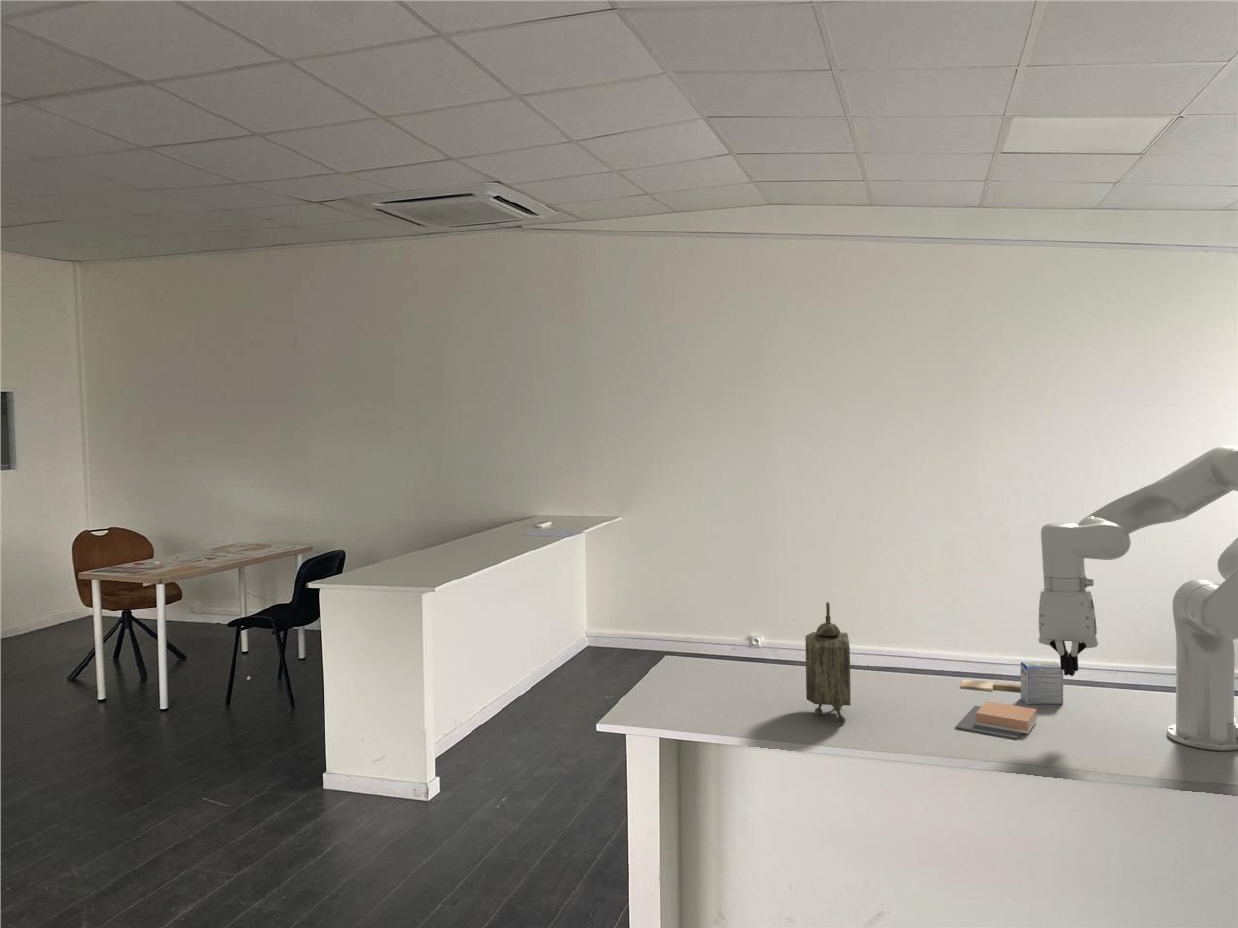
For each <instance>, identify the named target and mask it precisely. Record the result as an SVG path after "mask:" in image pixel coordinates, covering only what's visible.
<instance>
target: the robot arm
mask: <svg viewBox="0 0 1238 928" xmlns="http://www.w3.org/2000/svg"><path fill="white" fill-rule="evenodd" d="M1233 491H1234V492H1238V445H1220V446H1217V447H1214V448H1212V449H1210V450H1208V451H1206V452H1205V453H1203V454H1201V455H1199V456H1198V457H1195V458H1194V459H1192V460H1191V461H1189V462H1188V463H1186V464H1184V465H1182V466H1181V467H1180V468H1177V469H1175V470H1174V471H1173V472H1171V473H1169V474H1167V475H1166V476H1164V477H1162V478H1160V479H1159V480H1156V481H1155V482H1153V483H1150V484H1148V485H1146V486H1144V487H1141V488H1139V489H1137V490H1135V491H1133V492H1130V493H1128V494H1125V495H1124V496H1121V497H1119V498H1117V499H1115V500H1113V501H1111V502H1109V503H1107V504H1105V505H1104V506H1102V507H1100V508H1099V509H1096V510H1095V511H1093V512H1092V513H1090V514H1088V515H1087V516H1085V517H1084V518H1082V519H1081V520H1080V521H1079V522H1078V523H1074V522H1051V523H1047V524H1044V525H1043V526H1042V527H1041V529H1040V541H1041V554H1042V556H1041V558H1042V571H1043V572H1042V575H1043V587H1044V588H1042V589H1041V590H1040V595H1039V604H1038V634H1039V637H1038V643H1039V644H1042V645H1046V646H1049V647H1051V648H1052V649H1053V650H1054V651H1055V652H1056V653H1057V654H1058V656H1059V660H1060V661H1059V662H1060V663H1059V665H1061V670H1063V676H1068V675H1069V676H1070V677H1074V675H1076V672H1078V671H1079V654H1080V653H1082V651H1084V650H1085V649H1092V648H1097V647H1098V646H1099V642H1098V638H1097V634H1098V632H1097V630H1098V627H1097V620H1096V619H1097V618H1096V610H1095V604H1094V601H1093V596H1092V592H1091V590H1090V589H1087V588H1089V587H1093V586H1094V584H1095V583H1094V579H1093V578H1092V579H1090V578H1088V577H1087V576H1086V574H1085V573H1086V572H1085V571H1086V569H1085V568H1086V567H1085V559H1090V560H1102V561H1112V560H1117V559H1120V558H1121V557H1123V556H1124V555H1126V554H1127V553H1128V552H1129V550H1130V548H1131V543H1132V542H1131V541H1132V540H1131V537H1130V534H1132V533H1135V532H1136V531H1138V530H1139V531H1140V530H1141V529H1143V528H1146V527H1149V526H1154V525H1158V524H1165V523H1166V524H1167V523H1173V522H1176V521H1180V520H1183V519H1185V518H1188V517H1189V516H1191V515H1193V514H1194V513H1196V512H1198V511H1200V510H1201V509H1203V508H1204V507H1207V506H1208V505H1210V504H1212V503H1214V502H1215V501H1216V500H1218V499H1221V498H1222V497H1224V496H1225V495H1228V494H1229V493H1231V492H1233ZM1217 571H1218V572H1219V574H1220V576H1222V578H1223V579H1224V581H1223V582H1222V583H1221V584H1220V583H1217V582H1216V581H1213V580H1208V579H1192V580H1188V581H1187V582H1184V583H1183V584H1182V585H1180V586H1179V587H1178V589H1176V591H1175V594H1174V596H1173V598H1172V614H1173V615H1172V616H1173V622H1174V627H1175V628H1174V629H1175V636H1176V637H1175V639H1176V643H1175V645H1176V659H1175V661H1176V665H1175V666H1176V667H1175V668H1176V672H1175V674H1176V675H1175V679H1176V680H1175V682H1176V683H1175V685H1176V686H1175V696H1176V697H1175V723H1174V724H1173V723H1172V724H1170V725H1169V726H1167V727H1166V735H1167V736H1168V738H1170V739H1171V740H1173V741H1175V742H1177V743H1179V744H1182V745H1184V746H1189V747H1191V748H1197V749H1203V750H1210V751H1220V752H1221V751H1222V752H1223V751H1225V752H1226V751H1228V752H1229V751H1235V750H1236V751H1237V750H1238V723H1237V717H1235V665H1236V664H1235V659H1236V655H1235V644H1234V641H1235V640H1238V536H1237V537H1236V538H1235V539H1234V540H1233V541H1232V542H1231V543H1230V544H1229V545H1228V546H1227V547H1226V548H1225V549H1224V550H1223V552H1221V554H1220V555H1219V557H1218V559H1217ZM1066 642H1071V647H1070V651H1068V649H1067V645H1066Z"/></svg>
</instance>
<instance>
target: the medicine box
mask: <svg viewBox="0 0 1238 928" xmlns="http://www.w3.org/2000/svg"><path fill="white" fill-rule="evenodd" d="M1020 685H1021V691H1020V698H1021V699H1022V700H1023V702H1025V703H1026V704H1027V705H1029V704H1030V705H1063V704H1064V670H1061V664H1060V663H1058V662H1057V661H1020Z"/></svg>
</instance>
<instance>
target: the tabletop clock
mask: <svg viewBox="0 0 1238 928" xmlns="http://www.w3.org/2000/svg"><path fill="white" fill-rule="evenodd" d="M825 605H826V606H825V608H826V610H825V611H826V614H825V615H826V616H825V622H823V623H821V624H820V625H819V626H817V629H816V631H812V632H810V633H808V634H806V635H804V636H805V637H804V638H805V640H804V641H805V691H806V692H805V693H806V701H808V702H811V703H812V704H814V705H818V707H816V708H815V709H814V712H815V715H817V716H821V715H822V714H823V710H822V706H824V705H825V706H826V705H827V706H828V705H829V706H832V707H833V709H834V710H835V712H836V713H837V716H838V717H837V722H838V723H839V724H840V725H843V724H845V723H846V717H844V716H843V715H842V713H841V711H840V709H841V708H842V707H843V706H851V653H850V652H851V650H850V649H851V648H850V640H849V634H848V632H841V630H840V628H839V627H838V625H837V624H835V623H832V622H831V616H830V614H831V610H830V609H831V605H830V602H828V601H827V602H825Z"/></svg>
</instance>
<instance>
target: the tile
mask: <svg viewBox="0 0 1238 928" xmlns="http://www.w3.org/2000/svg"><path fill="white" fill-rule="evenodd" d="M1037 711H1038V709H1036V708H1034V707H1033V708H1032V707H1025V706H1020V705H1019V706H1018V705H1011V704H1006V703H1000V702H993V701H985V702H984V703H983V705H982V706H981V708H980V709H979V710H978V711H977V712H976V725H981V726H987V727H992V728H998V729H1004V730H1010V731H1015V732H1021V733H1022V734H1027V735H1028V734H1029V733H1030V731H1031V730H1032V729H1033V727H1034V726H1035V724H1036V722H1037V719H1038V717H1037V716H1038V715H1037V714H1038V713H1037Z"/></svg>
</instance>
